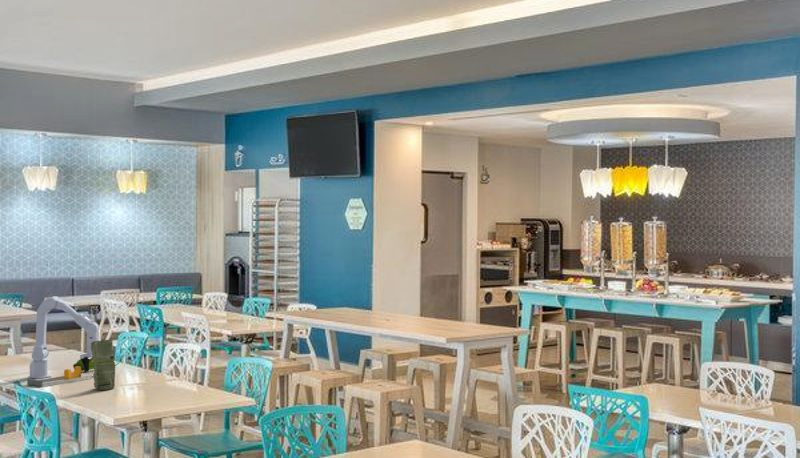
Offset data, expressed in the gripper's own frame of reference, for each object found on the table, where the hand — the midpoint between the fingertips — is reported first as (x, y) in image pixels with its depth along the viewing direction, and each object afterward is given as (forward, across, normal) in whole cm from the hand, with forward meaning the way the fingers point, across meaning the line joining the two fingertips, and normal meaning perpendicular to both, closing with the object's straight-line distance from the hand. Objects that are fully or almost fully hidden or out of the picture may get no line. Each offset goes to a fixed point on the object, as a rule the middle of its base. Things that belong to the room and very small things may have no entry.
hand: (93, 370), depth 498 cm
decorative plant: (+4, +16, +16) cm, 23 cm away
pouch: (+3, -20, -37) cm, 42 cm away
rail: (+3, -20, 0) cm, 20 cm away
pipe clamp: (+3, -14, 0) cm, 14 cm away
